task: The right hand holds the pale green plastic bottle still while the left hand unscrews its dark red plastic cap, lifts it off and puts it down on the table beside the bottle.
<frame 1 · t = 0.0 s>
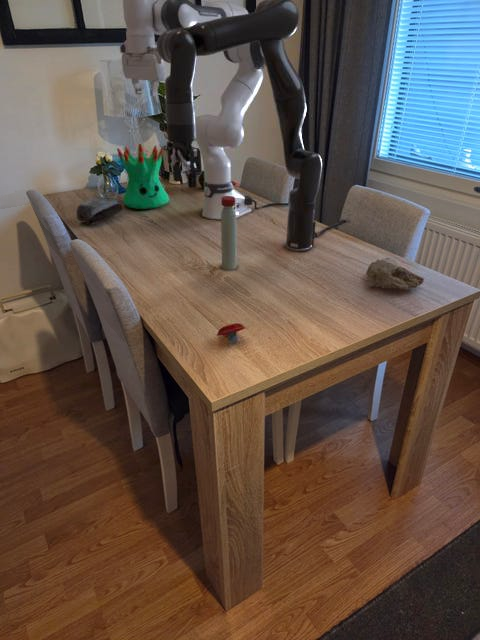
left hand: (146, 95, 149), 48 cm above the table, tool pointing down, fingers open, 8 cm apart
right hand: (184, 184, 124), 29 cm above the table, tool pointing down, fingers open, 8 cm apart
toy 2: (146, 204, 204), on the table
artifact: (387, 282, 137), on the table
rock: (101, 220, 185), on the table
cap: (228, 198, 135), point 23 cm above the table, screwed on, not yet turned
bottle: (229, 267, 147), on the table
toy: (213, 189, 226), on the table
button: (231, 340, 110), on the table
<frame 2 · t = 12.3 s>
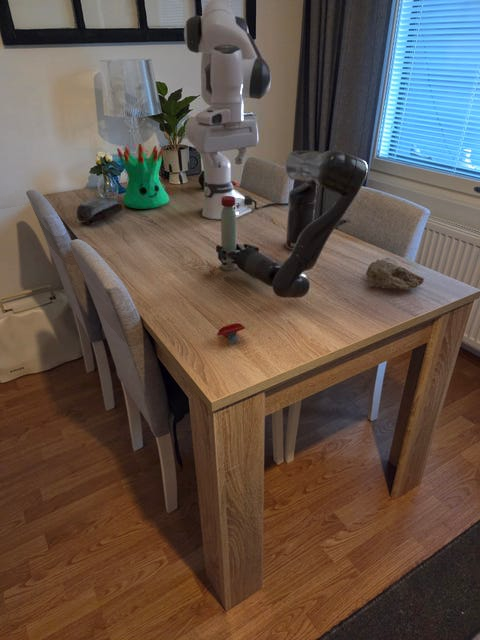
left hand: (228, 165, 130), 32 cm above the table, tool pointing down, fingers open, 7 cm apart
right hand: (224, 246, 145), 6 cm above the table, tool horizontal, fingers closed on bottle, 4 cm apart
bottle: (229, 267, 147), on the table, touching right hand
everything else where it was.
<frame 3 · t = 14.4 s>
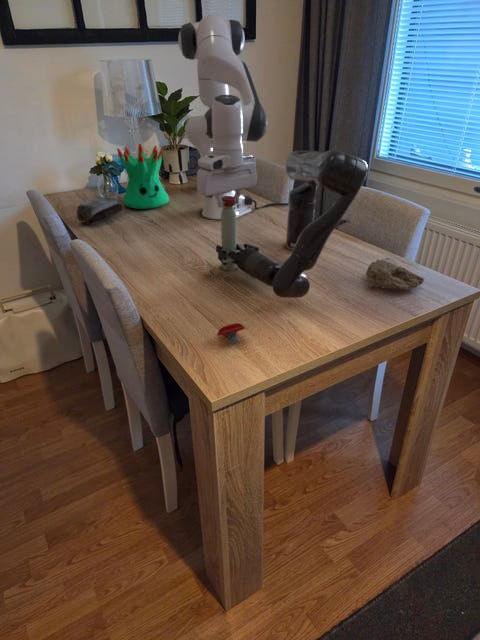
left hand: (228, 205, 136), 21 cm above the table, tool pointing down, fingers closed on cap, 4 cm apart
right hand: (224, 246, 145), 6 cm above the table, tool horizontal, fingers closed on bottle, 4 cm apart
cap: (228, 198, 135), point 23 cm above the table, screwed on, not yet turned, touching left hand
bottle: (229, 267, 147), on the table, touching right hand
everything else where it was.
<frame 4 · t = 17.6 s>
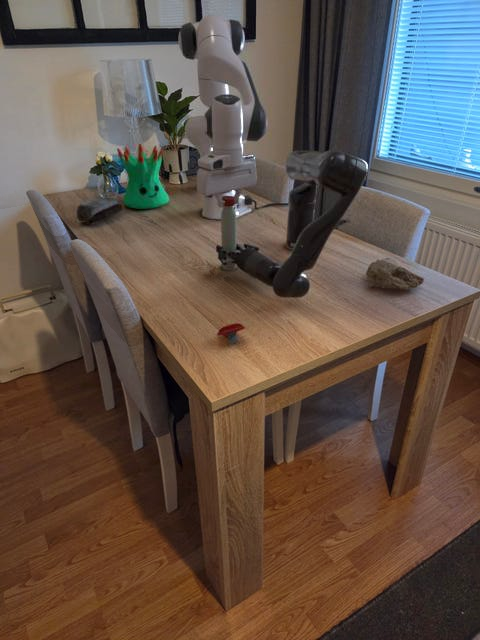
left hand: (228, 205, 136), 21 cm above the table, tool pointing down, fingers closed on cap, 4 cm apart
right hand: (224, 246, 145), 6 cm above the table, tool horizontal, fingers closed on bottle, 4 cm apart
cap: (228, 198, 135), point 23 cm above the table, turned 85° so far, risen 0.1 cm, still on its thread, touching left hand
bottle: (229, 267, 147), on the table, touching right hand
everything else where it was.
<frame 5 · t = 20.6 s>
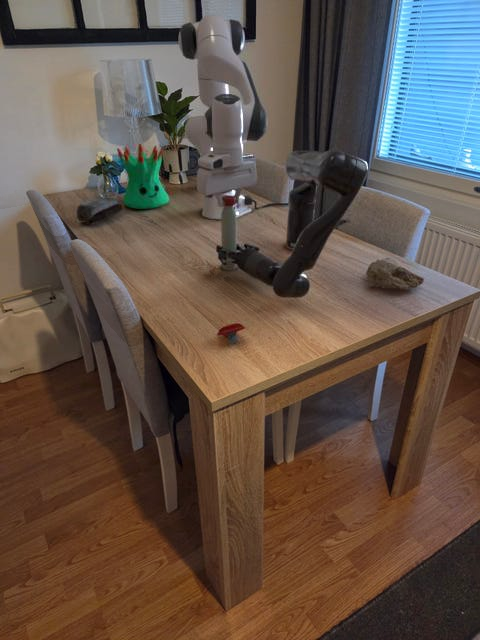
left hand: (228, 204, 136), 21 cm above the table, tool pointing down, fingers closed on cap, 4 cm apart
right hand: (224, 246, 145), 6 cm above the table, tool horizontal, fingers closed on bottle, 4 cm apart
cap: (228, 198, 135), point 23 cm above the table, turned 170° so far, risen 0.2 cm, still on its thread, touching left hand
bottle: (229, 267, 147), on the table, touching right hand
everything else where it was.
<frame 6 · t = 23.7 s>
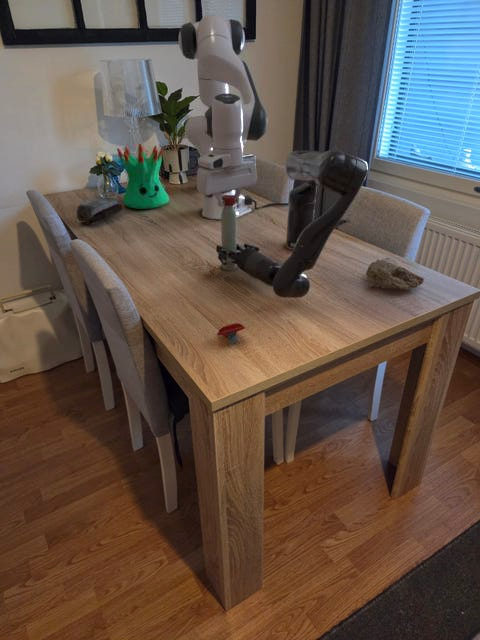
left hand: (228, 204, 136), 21 cm above the table, tool pointing down, fingers closed on cap, 4 cm apart
right hand: (224, 246, 145), 6 cm above the table, tool horizontal, fingers closed on bottle, 4 cm apart
cap: (228, 197, 135), point 23 cm above the table, turned 255° so far, risen 0.3 cm, still on its thread, touching left hand
bottle: (229, 267, 147), on the table, touching right hand
everything else where it was.
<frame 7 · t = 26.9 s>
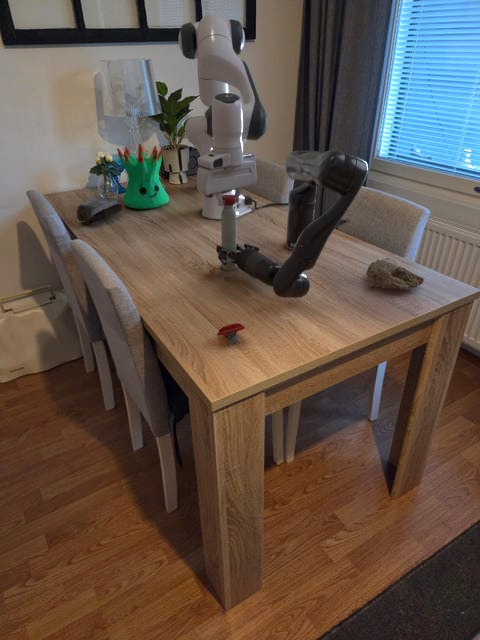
left hand: (228, 204, 136), 21 cm above the table, tool pointing down, fingers closed on cap, 4 cm apart
right hand: (224, 246, 145), 6 cm above the table, tool horizontal, fingers closed on bottle, 4 cm apart
cap: (228, 197, 134), point 23 cm above the table, turned 340° so far, risen 0.4 cm, still on its thread, touching left hand
bottle: (229, 267, 147), on the table, touching right hand
everything else where it was.
when the left hand's fingers open (2 cm above the table, at t = 36.3 s): cap drops 2 cm, point 2 cm above the table.
when the right hand's fingers open (6 cm above the table, at t = 37.4 s): bottle stays where it is, on the table.
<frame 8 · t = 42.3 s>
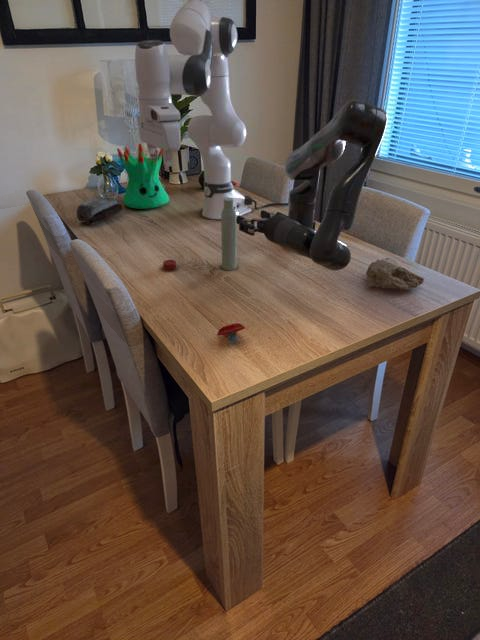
left hand: (160, 162, 128), 33 cm above the table, tool pointing down, fingers open, 8 cm apart
right hand: (249, 216, 128), 20 cm above the table, tool horizontal, fingers open, 8 cm apart
cap: (169, 263, 145), point 2 cm above the table, off its thread
bottle: (229, 267, 147), on the table
everything else where it was.
at the end: cap came off its thread; cap point 1.8 cm above the table; the left hand is holding nothing; the right hand is holding nothing; bottle tilted 0°; bottle moved 0.1 cm from its start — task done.
